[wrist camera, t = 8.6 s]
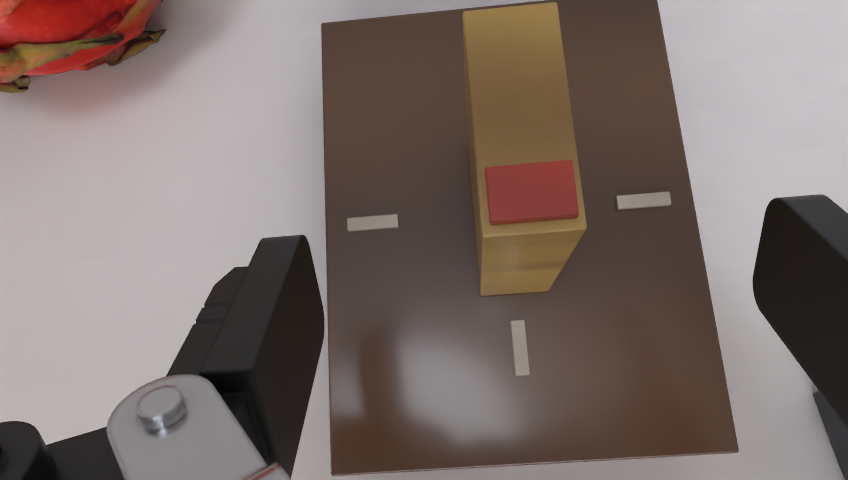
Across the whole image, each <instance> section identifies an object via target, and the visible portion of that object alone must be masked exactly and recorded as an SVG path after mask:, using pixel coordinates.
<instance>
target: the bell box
mask: <svg viewBox="0 0 848 480" xmlns="http://www.w3.org/2000/svg"><path fill="white" fill-rule="evenodd" d="M814 397H815V400H816V403H817V405H818V408H819V411H820V413H821V416H822V419H823V421H824V424H825V426H826V429H827V432H828V434H829V437H830V440H831V442H832V445H833V448H834V450H835V453H836V456H837V458H838V461H839V464H840V466H841V469H842V471H843V474H844V477H845V479H846V480H848V429H847V427H846V426H845V425H844V423H843V422H842V421H841V419H840V418H839V417H838V415H837V414H836V413H835V411H834V410H833V408H832V407H831V406H830V404H829V403H828V402H827V400H826V399H825V398H824V396H823V395H822V394H821V392H815V393H814Z"/></svg>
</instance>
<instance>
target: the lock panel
mask: <svg viewBox="0 0 848 480" xmlns="http://www.w3.org/2000/svg"><path fill="white" fill-rule="evenodd" d="M551 2H556V3H557V7H558V14H559V21H560V29H561V36H562V44H563V51H564V59H565V66H566V74H567V81H568V89H569V96H570V104H571V111H572V119H573V126H574V134H575V141H576V149H577V156H578V164H579V171H580V179H581V186H582V194H583V201H584V209H585V216H586V224H587V229H586V230H585V232H584V234H583V235H582V237H581V239H580V240H579V242H578V244H577V245H576V247H575V248H574V250H573V252H572V253H571V255H570V257H569V258H568V260H567V261H566V263H565V265H564V266H563V268H562V270H561V271H560V273H559V274H558V276H557V278H556V279H555V281H554V283H553V284H552V286H551V287H550V289H549V291H544V292H530V293H517V294H504V295H490V296H481V295H480V289H479V277H478V265H477V253H476V242H475V230H474V218H473V207H472V195H471V183H470V171H469V160H468V148H467V131H466V103H465V74H464V46H463V17H462V14H463V12H464V11H472V10H482V9H492V8H501V7H511V6H521V5H531V4H541V3H551ZM321 35H322V81H323V127H324V172H325V218H326V264H327V309H328V355H329V401H330V446H331V475H332V476H344V475H362V474H379V473H396V472H413V471H431V470H448V469H465V468H483V467H500V466H517V465H534V464H552V463H569V462H586V461H604V460H621V459H638V458H655V457H673V456H690V455H707V454H725V453H737V452H738V451H739V450H738V444H737V439H736V433H735V428H734V422H733V417H732V411H731V406H730V400H729V394H728V389H727V383H726V378H725V372H724V367H723V361H722V356H721V350H720V345H719V339H718V334H717V328H716V323H715V317H714V312H713V306H712V301H711V295H710V289H709V284H708V278H707V273H706V267H705V262H704V256H703V251H702V245H701V240H700V234H699V229H698V223H697V218H696V212H695V207H694V201H693V196H692V190H691V184H690V179H689V173H688V168H687V162H686V157H685V151H684V146H683V140H682V135H681V129H680V124H679V118H678V113H677V107H676V102H675V96H674V91H673V85H672V79H671V74H670V68H669V63H668V57H667V52H666V46H665V41H664V35H663V30H662V24H661V19H660V13H659V8H658V2H657V0H545V1H535V2H525V3H516V4H506V5H496V6H486V7H476V8H466V9H457V10H447V11H437V12H427V13H417V14H407V15H398V16H388V17H378V18H368V19H358V20H348V21H339V22H329V23H322V24H321Z"/></svg>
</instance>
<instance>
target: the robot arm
mask: <svg viewBox="0 0 848 480" xmlns="http://www.w3.org/2000/svg"><path fill="white" fill-rule="evenodd" d="M753 292H754V297H755V300H756V303H757V306H758V308H759V310H760V311H761V313H762V314H763V315H764V317H765V318H766V320H767V321H768V322H769V324H770V325H771V326H772V328H773V329H774V330H775V332H776V333H777V334H778V336H779V337H780V338H781V340H782V341H783V342H784V344H785V345H786V346H787V348H788V349H789V351H790V352H791V353H792V355H793V356H794V357H795V359H796V360H797V361H798V363H799V364H800V365H801V367H802V368H803V369H804V371H805V372H806V373H807V375H808V376H809V377H810V379H811V380H812V382H813V383H814V384H815V386H816V387H817V388H818V390H819V391H820V392H821V394H822V395H823V396H824V398H825V399H826V400H827V402H828V403H829V404H830V406H831V407H832V408H833V410H834V411H835V413H836V414H837V415H838V417H839V418H840V419H841V421H842V422H843V423H844V425H845V426H846V427H847V429H848V213H846V212H845V211H844V210H843V209H842V208H840V207H839V206H838V205H837V204H835V203H834V202H833V201H832V200H831V199H829V198H828V197H827V196H825V195H809V196H796V197H784V198H775V199H773V200H771V202H770V203H769V204H768V206H767V209H766V212H765V216H764V222H763V227H762V232H761V237H760V242H759V248H758V253H757V258H756V263H755V269H754V274H753ZM204 305H205V308H202V309H201V311H200V313H199V315H198V317H197V319H196V324H194V325H193V326H192V328H191V330H190V332H189V334H188V336H187V338H186V340H185V342H184V343H183V345H182V347H181V349H180V351H179V353H178V355H177V357H176V358H175V360H174V362H173V364H172V366H171V368H170V370H169V372H168V374H167V375H166V377H163V378H160V379H157V380H154V381H152V382H150V383H147V384H146V385H144V386H142V387H140V388H138V389H137V390H135V391H134V392H132V393H131V394H130V395H128V396H127V397H126V398H125V399H123V400H122V401H121V403H120V404H119V405H118V406H117V407H116V408H115V410H114V411H113V412H112V414H111V416H110V418H109V420H108V424H107V427H104V428H101V429H98V430H95V431H92V432H88V433H85V434H82V435H78V436H75V437H72V438H68V439H65V440H61V441H58V442H55V443H51V444H48V445H46V444H45V442H44V441H43V439H42V437H41V435H40V433H39V432H38V430H37V429H36V428H35V427H34V426H32V425H31V424H29V423H25V422H20V421H8V422H2V423H0V480H291V475H292V471H293V466H294V462H295V458H296V454H297V449H298V445H299V441H300V437H301V432H302V428H303V424H304V420H305V415H306V411H307V407H308V403H309V398H310V394H311V390H312V386H313V381H314V377H315V373H316V369H317V365H318V360H319V356H320V352H321V348H322V343H323V338H324V312H323V306H322V301H321V296H320V292H319V287H318V283H317V278H316V273H315V269H314V264H313V260H312V255H311V251H310V246H309V243H308V240H307V238H306V237H305V236H304V235H295V236H283V237H270V238H262V239H261V241H260V242H259V244H258V246H257V249H256V251H255V253H254V255H253V257H252V259H251V261H250V264H249V266H248V267H235V268H234V269H232V270H231V271H230V272H229V273H228V274H227V275H225V276H224V277H223V278H222V279H221V280H220V281H218V282H217V283H216V284H215V285H214V287H213V289H212V291H211V292H210V294H209V296H208V298H207V300H206V302H205V304H204Z"/></svg>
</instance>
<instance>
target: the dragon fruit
mask: <svg viewBox="0 0 848 480" xmlns="http://www.w3.org/2000/svg"><path fill="white" fill-rule="evenodd" d="M162 1H163V0H0V91H2V92H8V93H18V92H25V91H27V90H28V86H29V84H30V76H29V75H44V74H56V73H61V72H66V71H69V70H72V69H74V70H90V69H91V68H94V67H96V66H99V65H101V64H104V63H107V64H108V65H109V66H115V65H117V64H119V63H121V62H122V61H123V60H125V59H127V58H129V57H131V56H133V55H136V54H137V53H139V52H141V51H142V50H144V49H145V48H147V47H148V46H149V45H151V44H154V43H157V42H158V41H159V38H160V36H161V35H163V34H164V32H165V31H166V29H163V30H159V31H156V32H155V31H144V29H145V26H146V24H147V21H148V19H149V18H150V16H151V15H152V13H153V12H154V11H155V9H156V8H157V7H158V5H159V4H160V3H161V2H162Z"/></svg>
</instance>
